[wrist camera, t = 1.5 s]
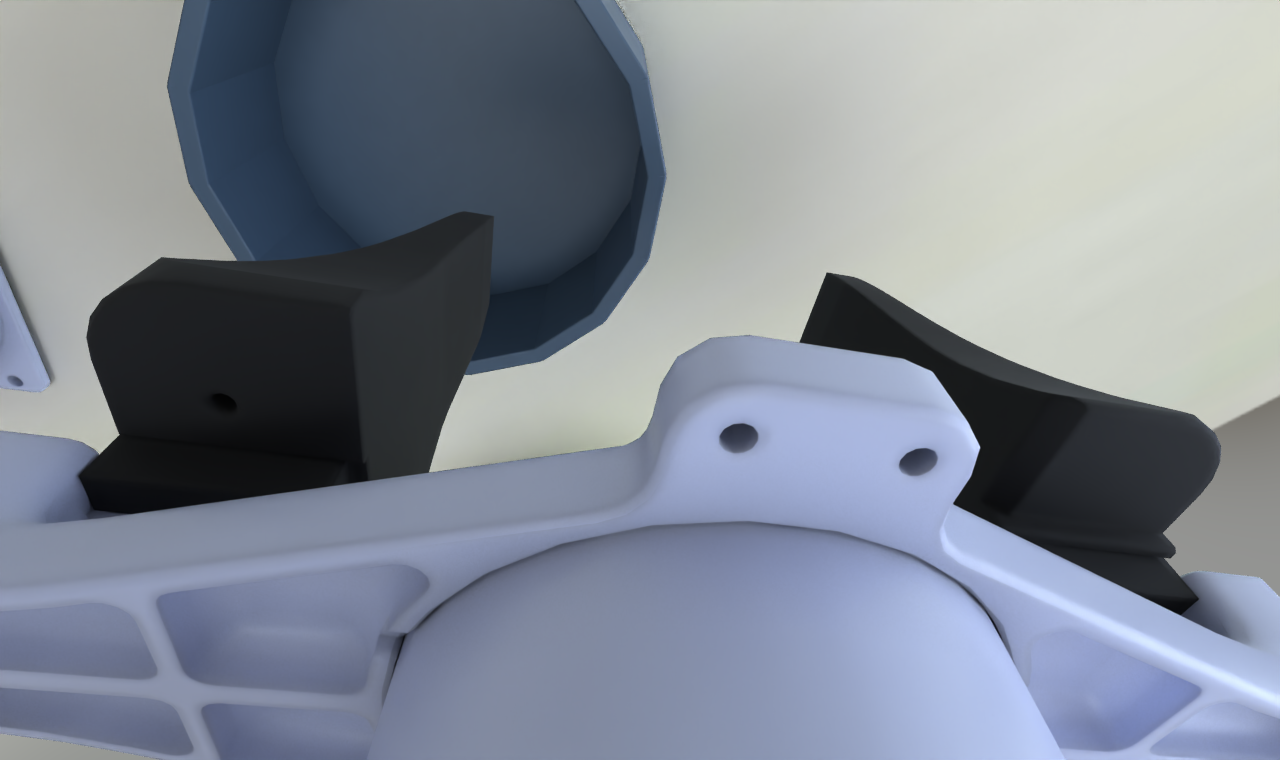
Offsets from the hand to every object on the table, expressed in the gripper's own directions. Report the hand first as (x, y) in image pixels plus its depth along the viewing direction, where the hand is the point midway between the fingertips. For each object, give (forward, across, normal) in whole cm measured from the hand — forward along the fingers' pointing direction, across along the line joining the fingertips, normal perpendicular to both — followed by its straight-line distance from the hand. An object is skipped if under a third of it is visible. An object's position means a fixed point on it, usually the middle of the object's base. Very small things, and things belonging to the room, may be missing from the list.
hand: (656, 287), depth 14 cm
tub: (+9, +6, 0) cm, 11 cm away
